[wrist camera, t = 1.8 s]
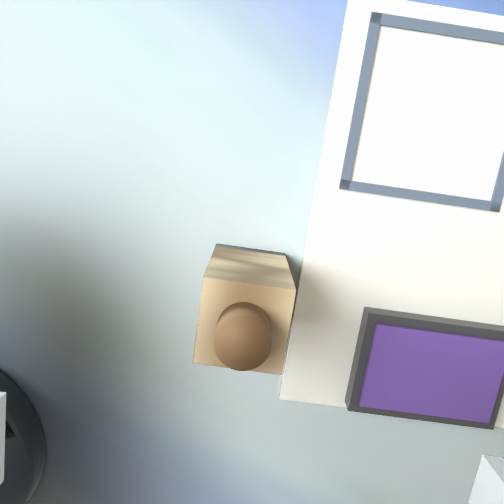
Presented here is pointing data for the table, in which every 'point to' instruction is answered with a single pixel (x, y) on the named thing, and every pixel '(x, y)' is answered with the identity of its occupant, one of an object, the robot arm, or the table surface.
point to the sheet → (403, 186)
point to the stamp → (245, 310)
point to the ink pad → (427, 368)
